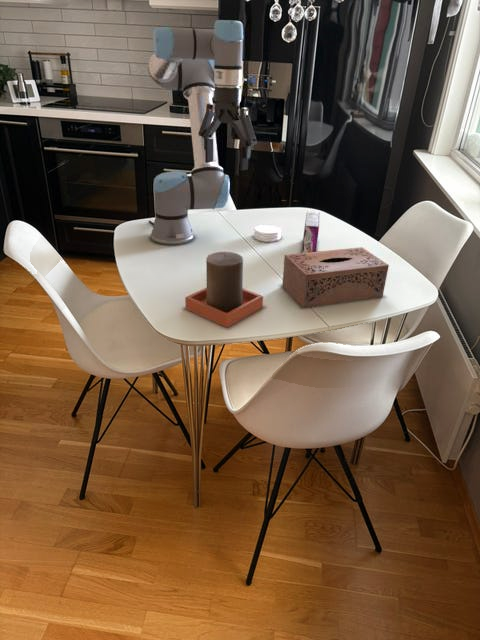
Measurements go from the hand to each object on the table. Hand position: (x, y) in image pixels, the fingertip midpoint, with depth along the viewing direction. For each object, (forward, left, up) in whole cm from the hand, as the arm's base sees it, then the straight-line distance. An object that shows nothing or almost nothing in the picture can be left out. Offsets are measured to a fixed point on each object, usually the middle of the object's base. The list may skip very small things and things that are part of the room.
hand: (226, 166), depth 143 cm
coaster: (-5, +30, -32) cm, 44 cm away
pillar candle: (+20, -23, -31) cm, 43 cm away
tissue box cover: (+36, +7, -32) cm, 49 cm away
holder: (+20, -23, -32) cm, 44 cm away
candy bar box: (+17, +25, -26) cm, 39 cm away
